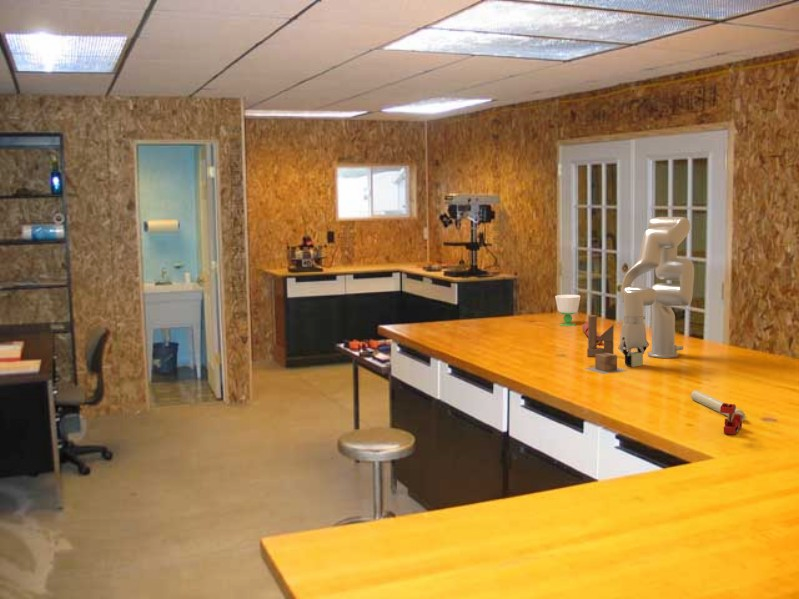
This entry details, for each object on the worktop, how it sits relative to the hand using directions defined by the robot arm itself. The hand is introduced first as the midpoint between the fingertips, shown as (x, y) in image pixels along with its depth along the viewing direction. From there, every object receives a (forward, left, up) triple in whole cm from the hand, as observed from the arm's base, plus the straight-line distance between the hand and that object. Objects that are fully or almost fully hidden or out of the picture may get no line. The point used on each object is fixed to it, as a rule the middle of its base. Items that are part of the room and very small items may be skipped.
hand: (633, 363), depth 338 cm
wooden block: (-2, -26, -2) cm, 26 cm away
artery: (-27, -67, -2) cm, 72 cm away
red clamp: (+36, +89, -2) cm, 96 cm away
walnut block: (+15, +1, -1) cm, 15 cm away
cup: (-42, -110, -2) cm, 118 cm away
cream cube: (0, 0, -1) cm, 1 cm away
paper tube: (+21, +68, -2) cm, 71 cm away
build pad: (+15, +1, -2) cm, 15 cm away
